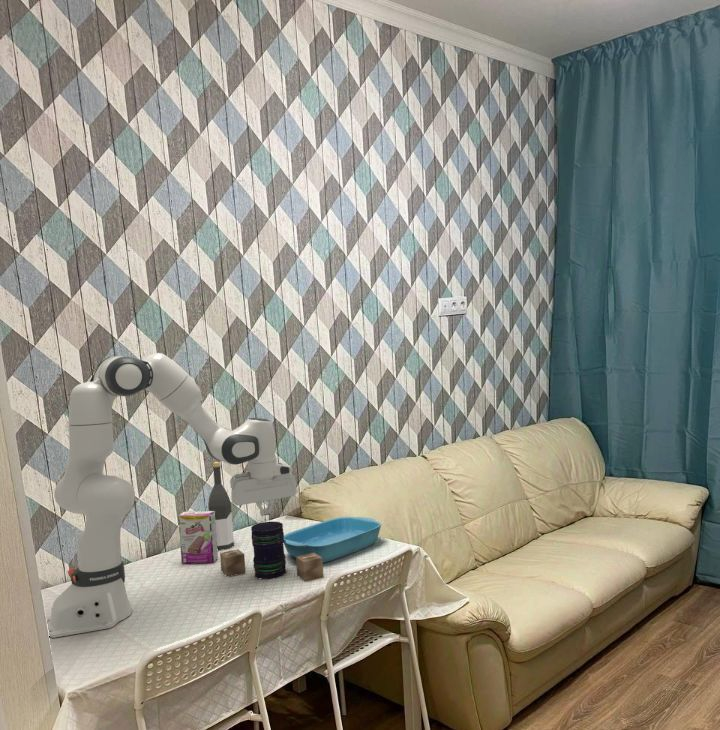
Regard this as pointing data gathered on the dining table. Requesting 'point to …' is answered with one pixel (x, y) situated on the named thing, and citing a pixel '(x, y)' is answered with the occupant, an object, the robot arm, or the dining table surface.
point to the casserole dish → (333, 537)
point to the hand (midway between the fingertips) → (265, 514)
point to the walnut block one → (309, 566)
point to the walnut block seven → (232, 562)
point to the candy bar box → (198, 537)
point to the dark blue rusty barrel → (268, 550)
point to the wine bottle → (221, 511)
